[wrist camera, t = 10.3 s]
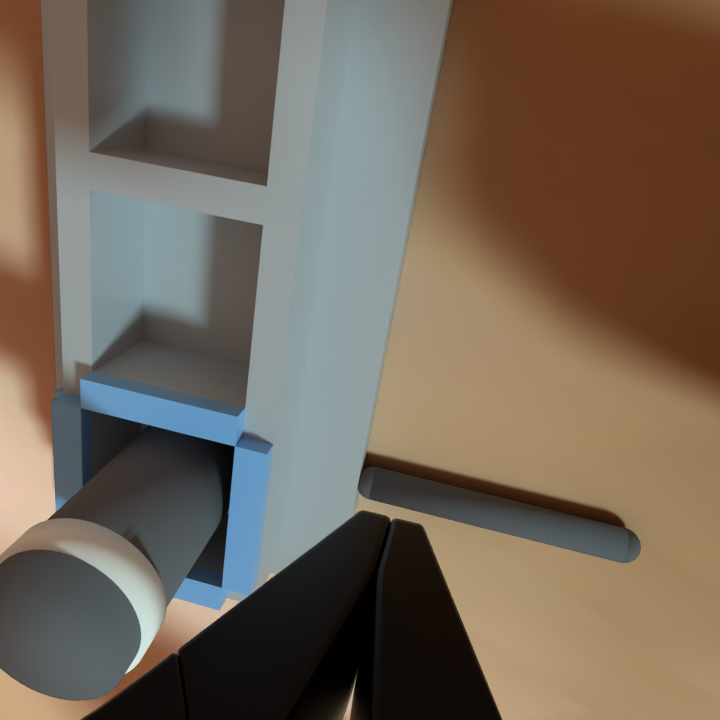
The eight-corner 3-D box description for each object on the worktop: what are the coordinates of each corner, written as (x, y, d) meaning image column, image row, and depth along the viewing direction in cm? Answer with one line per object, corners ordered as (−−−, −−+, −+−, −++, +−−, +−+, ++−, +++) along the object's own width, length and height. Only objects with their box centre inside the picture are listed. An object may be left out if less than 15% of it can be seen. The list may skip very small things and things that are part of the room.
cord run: (640, 525, 21) (649, 546, 20) (629, 551, 22) (637, 574, 20) (362, 457, 22) (356, 474, 21) (357, 483, 23) (351, 501, 22)
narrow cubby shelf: (473, -103, 16) (470, -190, 11) (342, 573, 24) (314, 665, 20) (57, -157, 17) (-83, -253, 13) (76, 501, 26) (-4, 573, 22)
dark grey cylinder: (266, 411, 21) (134, 594, 13) (252, 508, 23) (129, 724, 15) (152, 382, 22) (-45, 544, 13) (148, 480, 23) (-29, 676, 15)
